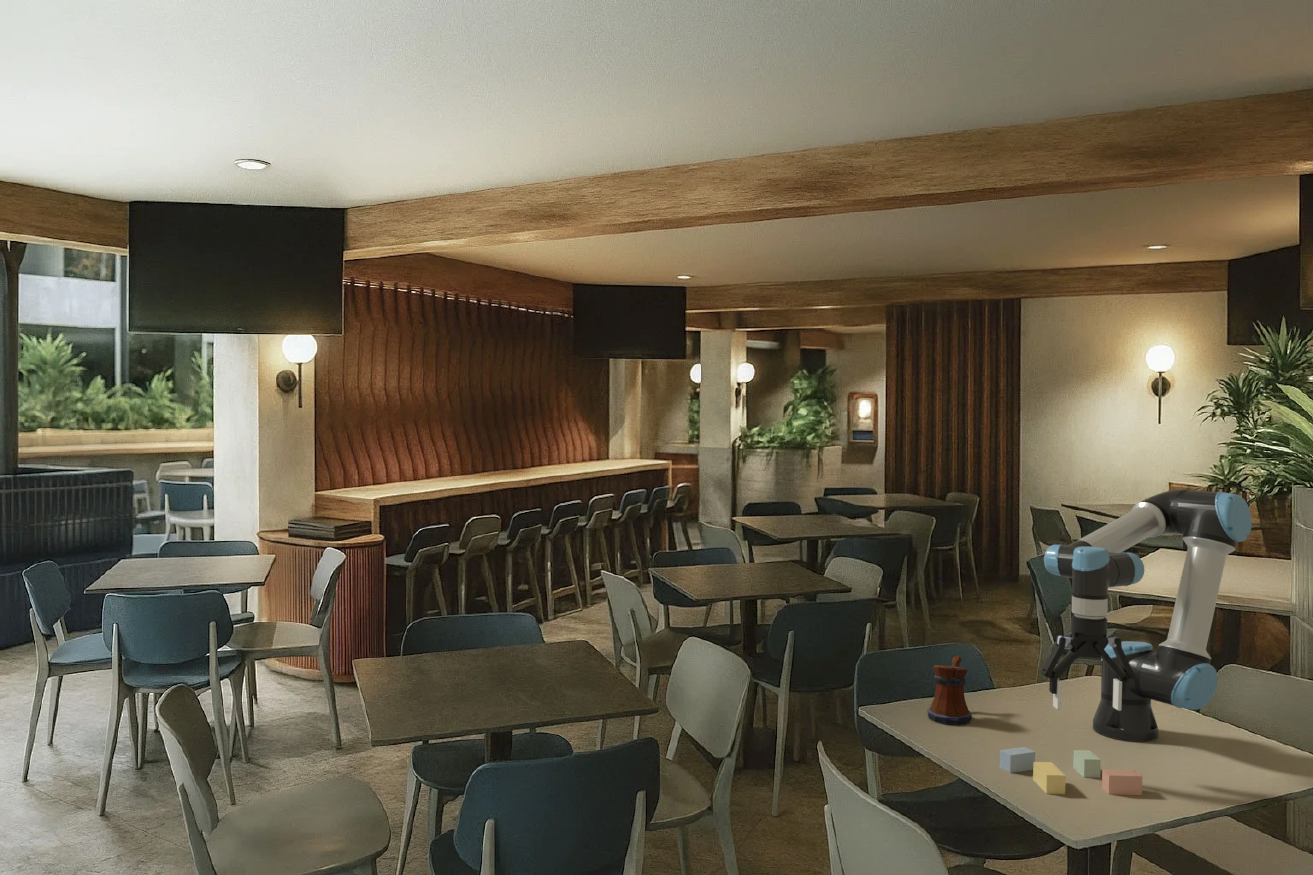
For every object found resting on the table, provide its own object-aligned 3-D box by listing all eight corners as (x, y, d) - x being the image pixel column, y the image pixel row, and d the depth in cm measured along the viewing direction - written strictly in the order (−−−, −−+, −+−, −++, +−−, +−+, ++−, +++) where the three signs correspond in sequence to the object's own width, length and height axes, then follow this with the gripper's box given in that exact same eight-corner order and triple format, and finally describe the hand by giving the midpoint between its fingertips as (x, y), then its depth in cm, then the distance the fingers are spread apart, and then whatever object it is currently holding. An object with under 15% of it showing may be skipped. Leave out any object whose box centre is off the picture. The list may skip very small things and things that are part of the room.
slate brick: (1023, 764, 233) (1024, 746, 233) (1034, 769, 229) (1035, 751, 229) (999, 768, 230) (999, 749, 230) (1010, 773, 227) (1010, 755, 227)
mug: (935, 703, 279) (936, 650, 279) (978, 709, 274) (979, 655, 274) (923, 721, 263) (924, 665, 263) (968, 728, 258) (969, 670, 258)
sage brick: (1073, 768, 231) (1073, 750, 231) (1088, 768, 231) (1089, 750, 231) (1084, 777, 225) (1084, 759, 225) (1100, 777, 225) (1100, 759, 225)
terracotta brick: (1134, 789, 218) (1135, 770, 218) (1141, 795, 215) (1142, 776, 215) (1101, 788, 219) (1102, 769, 218) (1108, 794, 215) (1109, 775, 215)
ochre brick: (1033, 780, 223) (1033, 761, 223) (1051, 780, 223) (1051, 762, 223) (1046, 794, 215) (1046, 775, 215) (1065, 794, 215) (1065, 775, 215)
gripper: (1136, 612, 230) (1134, 704, 231) (1028, 611, 231) (1025, 702, 231) (1152, 619, 223) (1149, 714, 223) (1040, 618, 223) (1037, 712, 224)
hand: (1086, 708), depth 227 cm, fingers open, 13 cm apart
